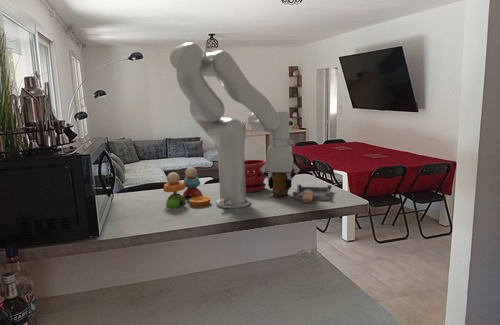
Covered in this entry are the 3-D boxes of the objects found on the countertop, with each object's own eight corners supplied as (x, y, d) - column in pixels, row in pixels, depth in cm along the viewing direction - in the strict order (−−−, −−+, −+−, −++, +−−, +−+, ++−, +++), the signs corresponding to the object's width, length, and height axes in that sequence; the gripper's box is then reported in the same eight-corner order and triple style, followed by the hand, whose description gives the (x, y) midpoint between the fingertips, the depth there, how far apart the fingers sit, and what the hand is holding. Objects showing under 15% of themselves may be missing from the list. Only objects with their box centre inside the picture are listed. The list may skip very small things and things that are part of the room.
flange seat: (328, 204, 136) (328, 193, 135) (290, 203, 140) (290, 192, 139) (331, 191, 153) (331, 181, 153) (297, 190, 157) (297, 181, 156)
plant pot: (268, 185, 168) (267, 158, 166) (265, 193, 155) (264, 164, 153) (238, 185, 170) (237, 158, 167) (233, 193, 157) (231, 164, 155)
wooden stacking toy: (206, 209, 137) (203, 174, 135) (161, 208, 141) (158, 174, 138) (220, 195, 154) (218, 165, 152) (179, 195, 158) (177, 165, 156)
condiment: (280, 191, 156) (279, 162, 154) (295, 195, 150) (295, 165, 148) (267, 195, 152) (266, 165, 150) (282, 199, 145) (282, 168, 143)
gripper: (303, 142, 149) (303, 187, 152) (259, 141, 153) (260, 185, 156) (300, 144, 142) (300, 191, 145) (255, 144, 146) (256, 190, 149)
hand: (279, 188), depth 150 cm, fingers open, 6 cm apart
